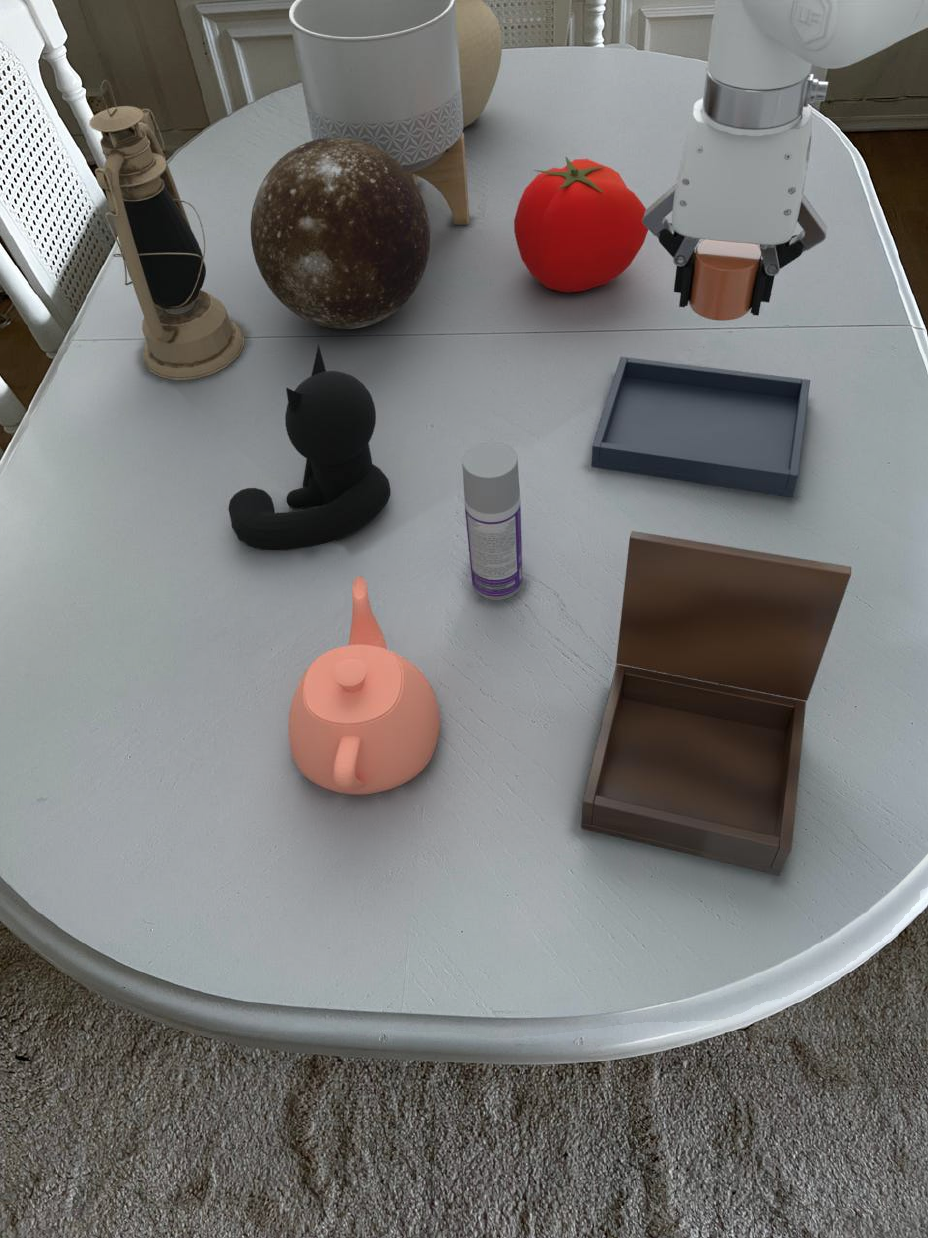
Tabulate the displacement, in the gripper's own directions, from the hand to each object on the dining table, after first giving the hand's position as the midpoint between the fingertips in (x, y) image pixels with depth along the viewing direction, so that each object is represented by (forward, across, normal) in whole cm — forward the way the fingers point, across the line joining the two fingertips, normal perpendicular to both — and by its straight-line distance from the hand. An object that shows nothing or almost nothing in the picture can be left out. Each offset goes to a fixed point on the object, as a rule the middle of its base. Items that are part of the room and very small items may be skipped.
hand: (720, 300), depth 87 cm
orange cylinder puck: (0, 0, 0) cm, 0 cm away
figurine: (+16, +35, +19) cm, 43 cm away
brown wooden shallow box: (+15, -5, +40) cm, 43 cm away
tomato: (+16, +18, -25) cm, 35 cm away
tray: (+16, 0, 0) cm, 16 cm away
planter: (+16, +44, -34) cm, 58 cm away
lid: (+4, -5, +34) cm, 34 cm away
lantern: (+16, +60, -3) cm, 62 cm away
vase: (+16, +46, -62) cm, 79 cm away
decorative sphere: (+16, +43, -13) cm, 48 cm away
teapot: (+16, +21, +42) cm, 50 cm away
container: (+16, +15, +24) cm, 32 cm away
